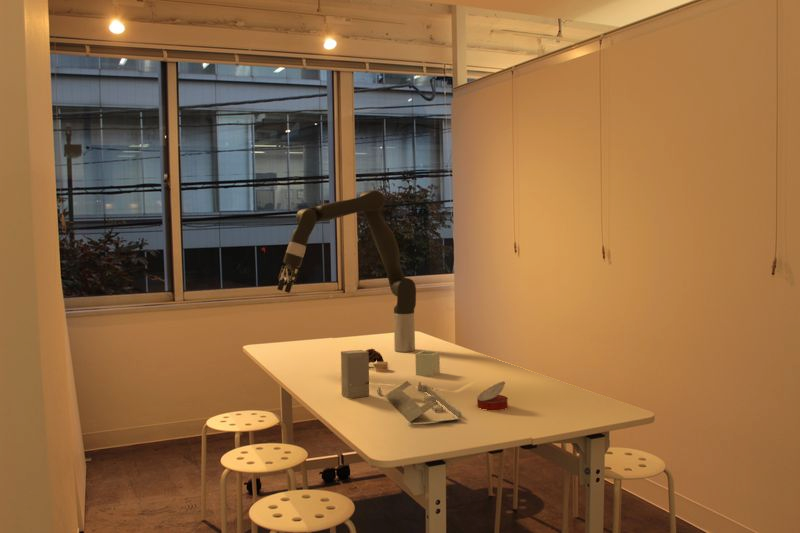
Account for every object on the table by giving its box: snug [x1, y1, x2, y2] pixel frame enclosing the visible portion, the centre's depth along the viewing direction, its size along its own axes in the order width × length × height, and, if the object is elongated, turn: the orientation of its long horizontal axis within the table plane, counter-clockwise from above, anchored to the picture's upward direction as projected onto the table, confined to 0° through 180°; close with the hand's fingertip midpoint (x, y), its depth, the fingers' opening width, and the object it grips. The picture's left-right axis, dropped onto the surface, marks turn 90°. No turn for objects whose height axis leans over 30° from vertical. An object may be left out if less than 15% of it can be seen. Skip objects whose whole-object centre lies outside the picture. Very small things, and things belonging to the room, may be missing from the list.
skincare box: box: [340, 349, 370, 399], centre depth 273 cm, size 8×7×16 cm
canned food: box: [476, 381, 509, 411], centre depth 255 cm, size 11×10×10 cm
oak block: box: [375, 361, 389, 373], centre depth 310 cm, size 4×4×4 cm
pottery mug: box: [365, 348, 385, 364], centre depth 324 cm, size 12×10×8 cm
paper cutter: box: [376, 380, 464, 425], centre depth 256 cm, size 18×45×6 cm, turn 14°
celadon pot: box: [414, 350, 441, 377], centre depth 302 cm, size 7×7×9 cm
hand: (283, 291), depth 328 cm, fingers open, 8 cm apart
